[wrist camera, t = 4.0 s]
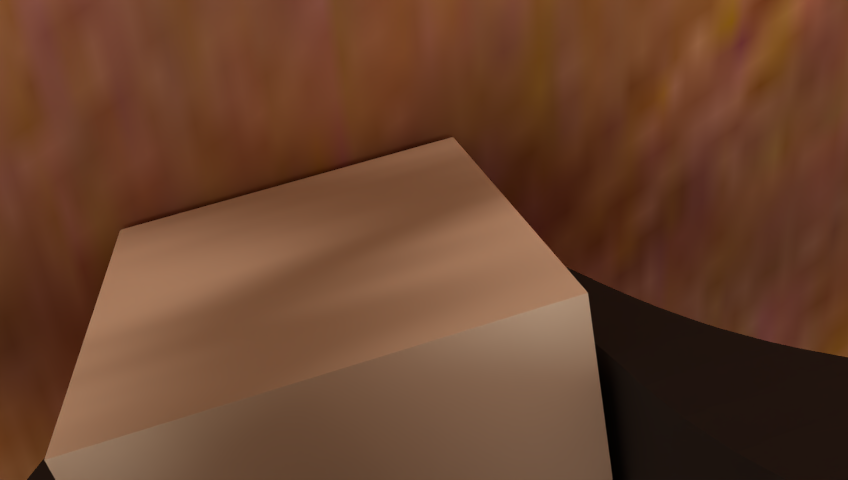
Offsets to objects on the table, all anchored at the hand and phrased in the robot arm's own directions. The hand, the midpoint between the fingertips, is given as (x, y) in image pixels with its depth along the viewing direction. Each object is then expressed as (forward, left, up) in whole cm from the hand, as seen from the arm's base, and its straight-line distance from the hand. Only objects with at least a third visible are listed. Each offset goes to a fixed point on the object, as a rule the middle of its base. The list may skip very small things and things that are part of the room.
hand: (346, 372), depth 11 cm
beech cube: (0, 0, -1) cm, 1 cm away
